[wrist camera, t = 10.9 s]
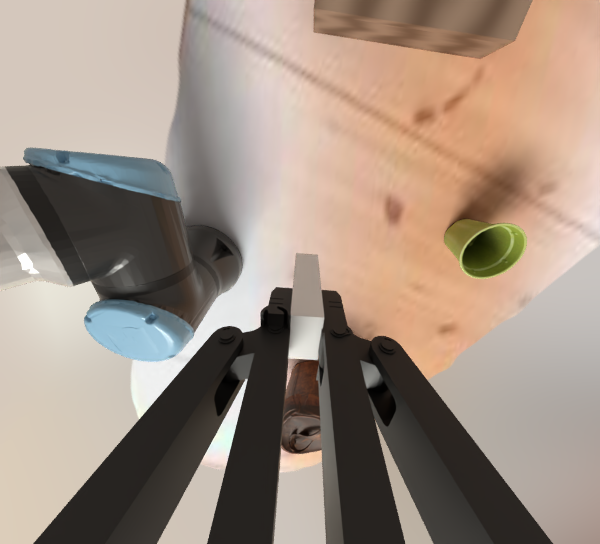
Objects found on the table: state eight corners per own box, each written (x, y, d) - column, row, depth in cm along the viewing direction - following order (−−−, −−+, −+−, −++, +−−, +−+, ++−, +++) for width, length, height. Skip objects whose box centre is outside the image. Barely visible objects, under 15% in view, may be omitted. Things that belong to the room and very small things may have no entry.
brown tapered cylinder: (275, 391, 69) (266, 462, 53) (288, 345, 59) (281, 416, 44) (331, 400, 70) (338, 473, 55) (353, 357, 61) (369, 430, 45)
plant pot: (438, 212, 41) (466, 227, 33) (494, 206, 40) (536, 219, 32) (431, 258, 45) (454, 281, 38) (481, 253, 44) (516, 275, 37)
